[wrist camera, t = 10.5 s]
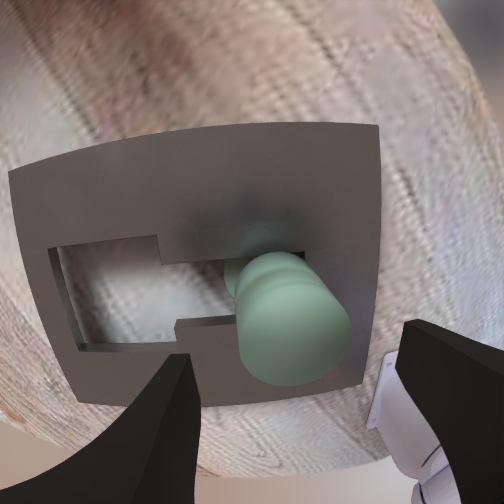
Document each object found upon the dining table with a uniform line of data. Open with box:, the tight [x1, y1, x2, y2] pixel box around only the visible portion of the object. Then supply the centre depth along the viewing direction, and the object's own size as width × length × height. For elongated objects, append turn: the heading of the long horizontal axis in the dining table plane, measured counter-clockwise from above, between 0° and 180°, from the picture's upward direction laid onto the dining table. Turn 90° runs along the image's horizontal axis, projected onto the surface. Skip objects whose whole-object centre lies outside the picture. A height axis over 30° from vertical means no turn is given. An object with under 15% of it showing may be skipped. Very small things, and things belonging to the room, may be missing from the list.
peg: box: [224, 252, 351, 386], centre depth 13 cm, size 5×5×8 cm
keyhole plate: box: [8, 122, 381, 407], centre depth 16 cm, size 16×20×3 cm
